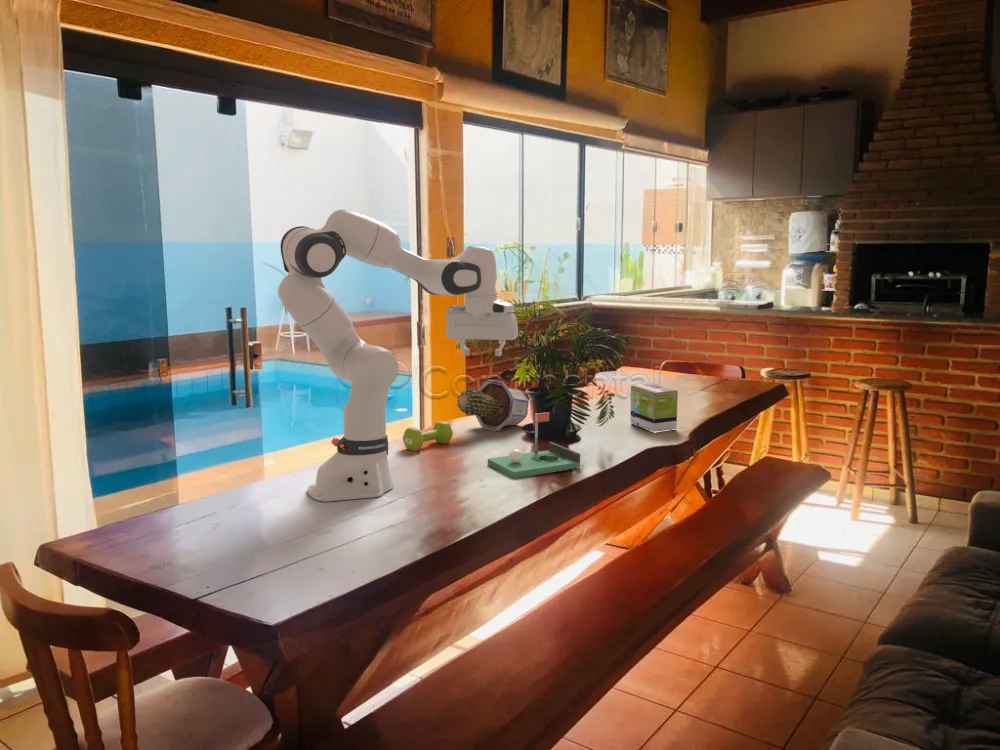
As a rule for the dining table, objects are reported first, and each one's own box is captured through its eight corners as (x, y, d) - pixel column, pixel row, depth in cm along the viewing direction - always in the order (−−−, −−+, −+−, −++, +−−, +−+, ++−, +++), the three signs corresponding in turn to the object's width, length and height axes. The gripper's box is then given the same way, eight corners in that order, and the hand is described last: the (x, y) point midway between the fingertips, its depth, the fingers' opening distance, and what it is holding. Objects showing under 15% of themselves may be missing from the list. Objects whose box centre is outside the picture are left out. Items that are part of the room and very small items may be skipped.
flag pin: (535, 459, 245) (536, 413, 242) (534, 458, 245) (534, 413, 243) (549, 457, 247) (549, 412, 245) (548, 456, 248) (548, 411, 245)
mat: (513, 478, 225) (513, 463, 224) (487, 464, 239) (487, 450, 238) (580, 468, 235) (580, 453, 234) (551, 455, 249) (551, 441, 248)
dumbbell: (416, 453, 252) (415, 431, 251) (400, 449, 258) (399, 427, 257) (455, 444, 264) (455, 422, 263) (439, 440, 270) (439, 419, 268)
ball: (512, 465, 231) (512, 452, 230) (506, 462, 235) (506, 448, 234) (525, 463, 233) (525, 450, 232) (518, 460, 236) (518, 447, 236)
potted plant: (499, 380, 299) (446, 371, 275) (538, 388, 288) (487, 379, 264) (490, 427, 299) (437, 421, 275) (529, 436, 288) (477, 431, 264)
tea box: (629, 425, 290) (629, 384, 288) (652, 422, 294) (653, 382, 292) (653, 434, 276) (655, 391, 274) (677, 431, 281) (679, 389, 278)
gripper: (441, 306, 222) (443, 356, 225) (513, 307, 217) (514, 357, 219) (449, 304, 228) (450, 352, 231) (519, 305, 223) (520, 354, 225)
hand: (482, 355), depth 225 cm, fingers open, 8 cm apart
